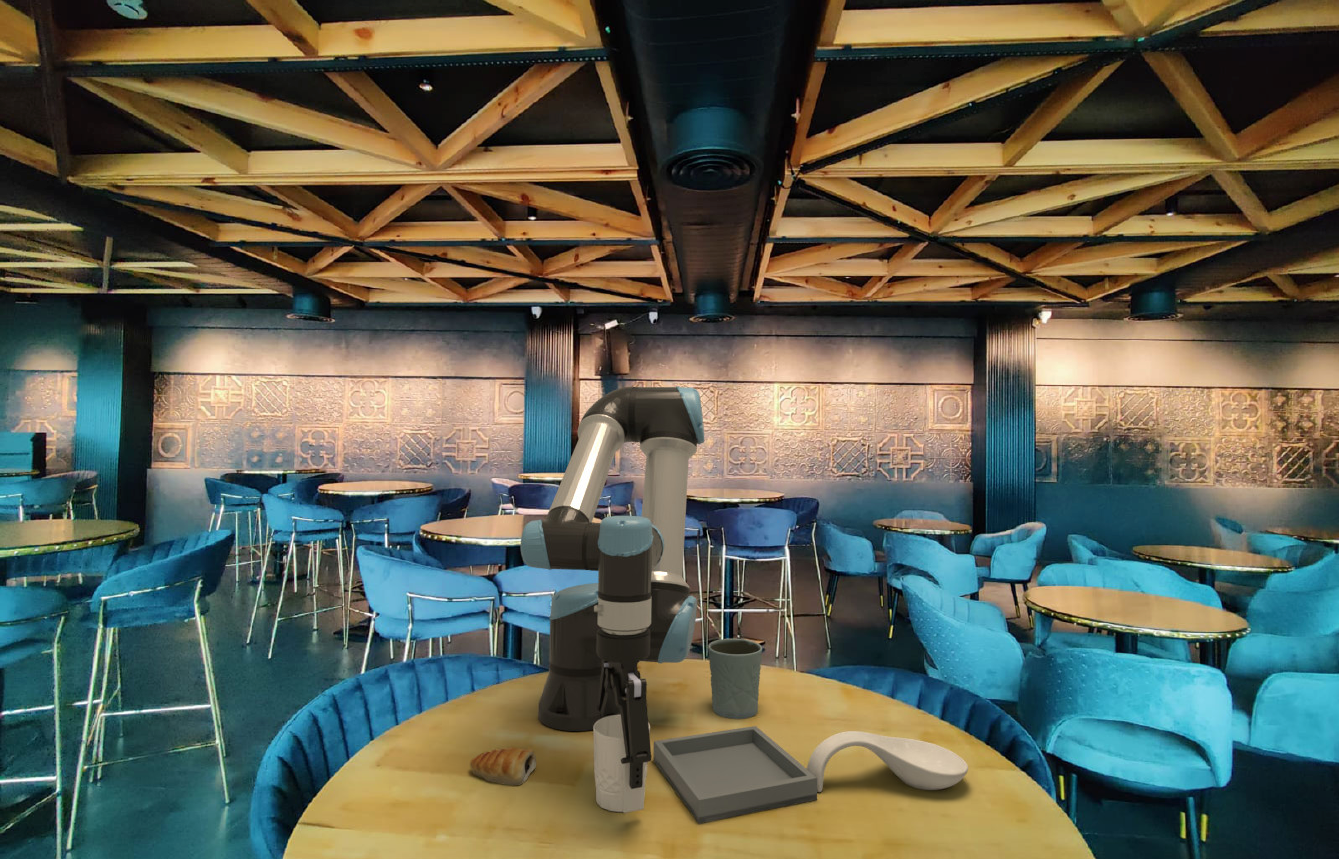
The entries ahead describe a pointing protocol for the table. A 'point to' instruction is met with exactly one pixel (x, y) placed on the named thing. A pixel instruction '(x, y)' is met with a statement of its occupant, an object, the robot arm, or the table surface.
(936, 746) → the spoon rest
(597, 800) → the white cup
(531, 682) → the table surface
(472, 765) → the pastry
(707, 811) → the tray
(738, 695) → the grey-green cup
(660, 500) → the robot arm
